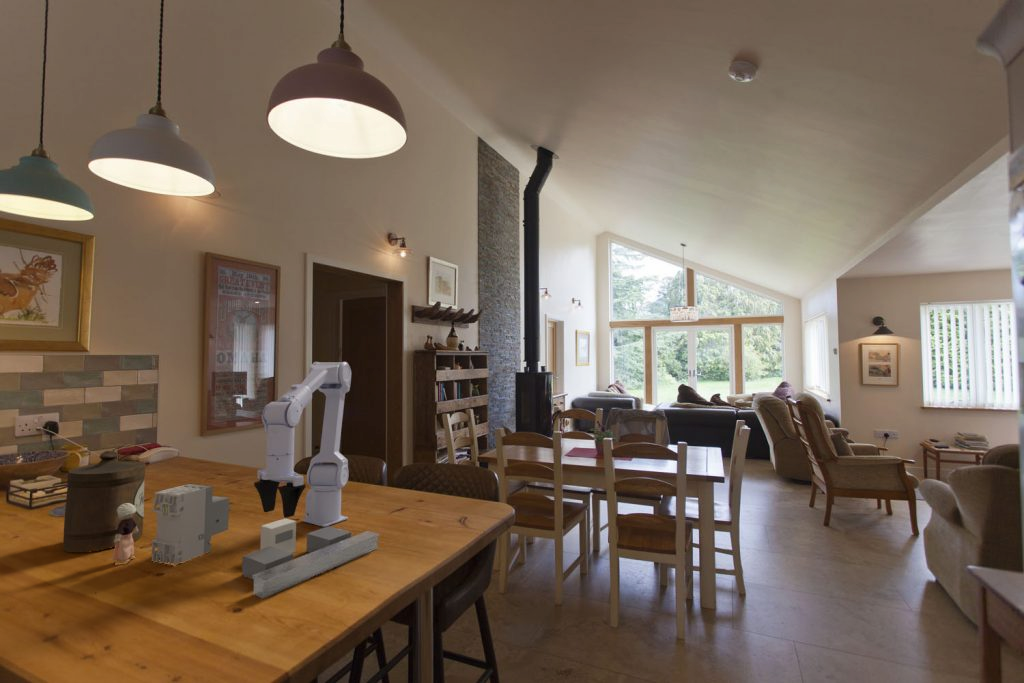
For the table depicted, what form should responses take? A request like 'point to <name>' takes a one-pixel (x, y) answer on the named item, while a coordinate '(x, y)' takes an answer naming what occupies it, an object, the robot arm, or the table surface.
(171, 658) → the table surface
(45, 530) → the table surface
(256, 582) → the din rail
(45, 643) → the table surface
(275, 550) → the mounted modules
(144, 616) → the table surface
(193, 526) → the circuit breaker
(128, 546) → the grandmother figurine
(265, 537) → the block
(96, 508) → the wooden container
